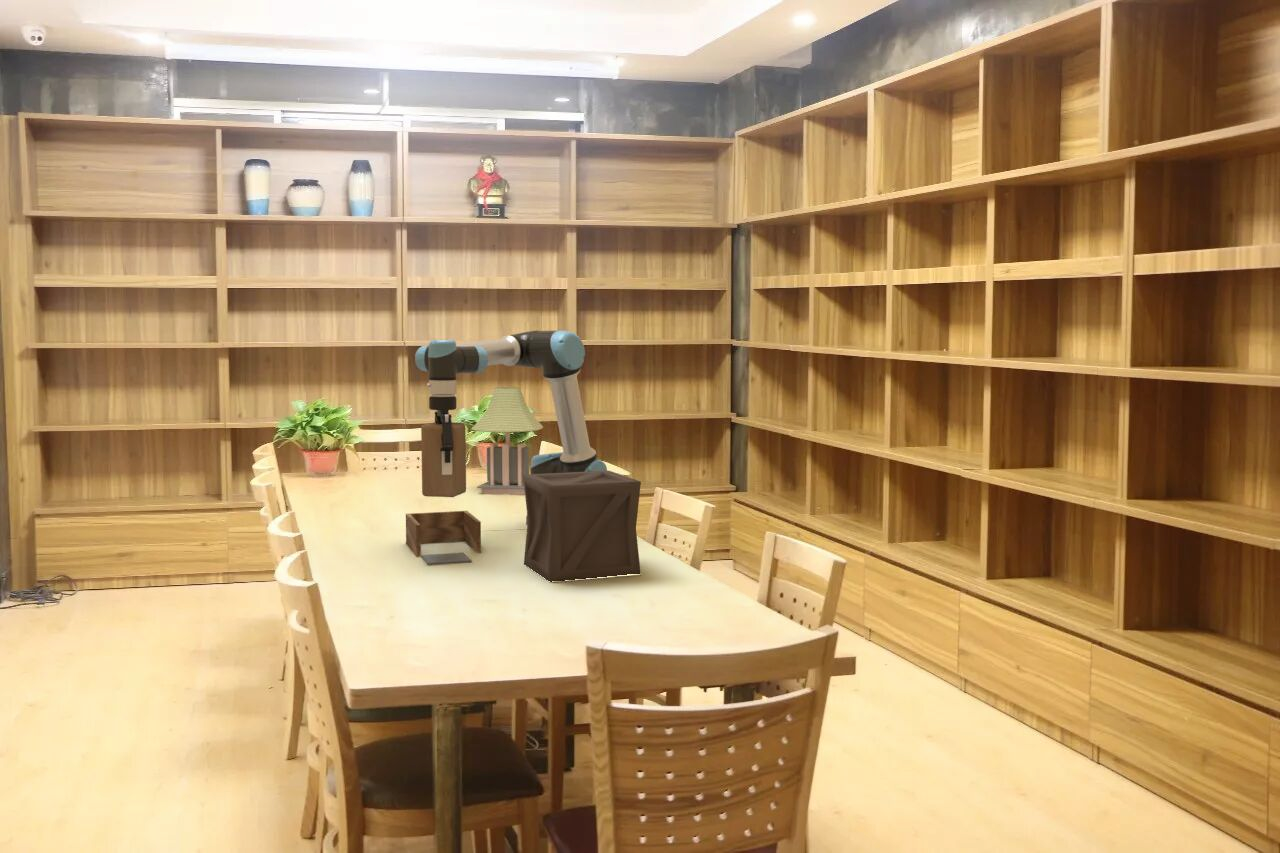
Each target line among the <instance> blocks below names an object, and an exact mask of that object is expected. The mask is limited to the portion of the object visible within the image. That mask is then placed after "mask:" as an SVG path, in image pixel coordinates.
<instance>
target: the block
mask: <svg viewBox="0 0 1280 853" xmlns="http://www.w3.org/2000/svg"><path fill="white" fill-rule="evenodd" d="M451 425H452V437H453V446H454V448H453V449H452V475H442V451H440V448H442V440H441V433H443V432H442V424H440V425H438V424H437V423H435V421H433V422H430V423H426V424H425V423H424V424H422V425H421V427H420V432H421V433H420V434H421V438H420V439H421V489H422V490H421V494H422V496H424V497H428V498H429V497H430V498H431V497H432V498H433V497H434V498H435V497H436V498H455V497H457V496H459V495H462V494H465V493H466V492H467V447H466V446H467V440H466V439H467V438H466V437H467V436H466V433H467V431H466V423H464V422H453V421H451Z"/></svg>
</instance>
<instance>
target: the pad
mask: <svg viewBox="0 0 1280 853" xmlns="http://www.w3.org/2000/svg"><path fill="white" fill-rule="evenodd" d="M420 557H421V558H422V559H423V561H424V562H425V564H426V565H427V566H434V565H435V566H437V565H450V564H452V565H453V564H467V563H472V561H473V560H472V559H471V558H470V557H469V556H468V555H467V554H466V553H465V552H451V553H449V552H448V553H434V554H421V556H420Z"/></svg>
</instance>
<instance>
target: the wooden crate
mask: <svg viewBox="0 0 1280 853" xmlns="http://www.w3.org/2000/svg"><path fill="white" fill-rule="evenodd" d="M523 480H524V489H525V495H524V497H525V507H526V516H527V517H528V524H526V536H525V547H524V558H523V566H525V565H526V566H525V567H526V568H528V567H529V568H530V569H529V568H528V569H529V570H531V569H532V570H533V572H534V571H535V572H536V573H535V572H534V573H535V574H537V573H538V574H539V575H538V574H537V575H538V576H540V575H541V576H542V577H544V578H545V579H546V580H545V579H544V578H543V579H544V580H545V581H547V580H548V581H550V582H552V581H565V580H575V579H586V578H597V577H607V576H617V575H627V574H640V573H641V563H640V555H639V547H638V546H639V544H638V537H637V536H638V535H637V521H638V514H639V512H638V511H639V502H640V494H641V493H640V492H641V484H642V482H641V481H639V480H636V479H634V478H631V477H628V476H626V475H624V474H623V475H622V474H620V473H616V472H614V471H612V470H607V471H590V472H569V473H548V474H531V473H529V474H527V475H523ZM532 570H531V571H532ZM641 574H642V573H641ZM541 576H540V577H541ZM542 577H541V578H542ZM548 581H547V582H548ZM550 582H549V583H550ZM565 582H566V581H565Z"/></svg>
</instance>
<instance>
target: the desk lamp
mask: <svg viewBox="0 0 1280 853" xmlns="http://www.w3.org/2000/svg"><path fill="white" fill-rule="evenodd" d="M543 428H544V426H543V425H542V423H540V421H538V419H537V418H536V417H535V416H534V415H533V414H532V412H531V410H530V409H529V407H528V406H527V403H526V401H525V399H524V396H523V393H522V390H521V387H518V386H516V387H515V386H503V387H502V386H498V387H494V388H493V391H492V395H491V397H490V400H489V403H488V406H487V408H486V410H485V412H484V413H483V414H482V416H481V417H480V419H478V421H477V422H476V423H475V424H474V426H472V428H471V431H476V432H485V433H505V443H503V444H501V445H502V446H499V442H498V441H497V442H492V443H490V444H489V446H488V447H486V480H487V482H484V483H482V484H480V485H477V486H476V488H477V489H481V495H501V494H510V496H525V489H524V480H523V475H527V474H530V447H528V446H527V444H526V442H521V443H518V444H517V446H514V442H511V436H510V433H522V432H523V433H526V432H536V431H539V430H542V429H543Z"/></svg>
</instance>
